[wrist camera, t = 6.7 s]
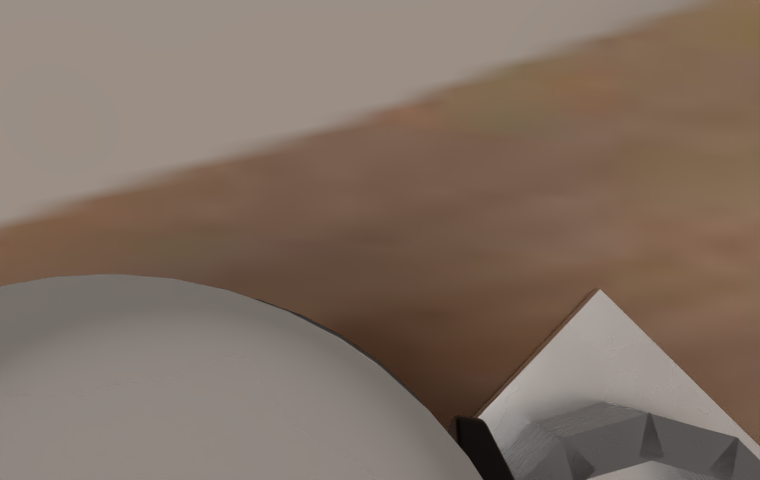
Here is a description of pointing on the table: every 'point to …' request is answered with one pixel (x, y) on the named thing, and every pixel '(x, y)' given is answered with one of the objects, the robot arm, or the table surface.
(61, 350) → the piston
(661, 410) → the ring sleeve
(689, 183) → the table surface
